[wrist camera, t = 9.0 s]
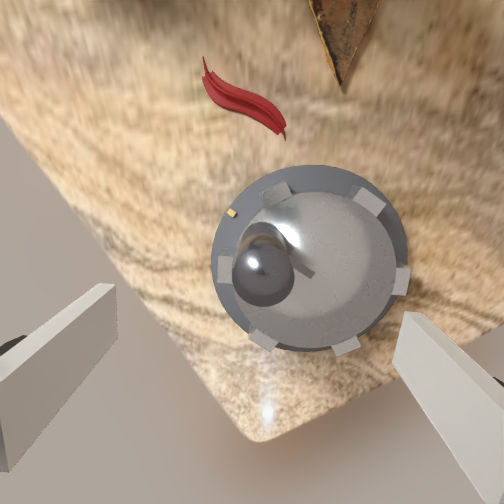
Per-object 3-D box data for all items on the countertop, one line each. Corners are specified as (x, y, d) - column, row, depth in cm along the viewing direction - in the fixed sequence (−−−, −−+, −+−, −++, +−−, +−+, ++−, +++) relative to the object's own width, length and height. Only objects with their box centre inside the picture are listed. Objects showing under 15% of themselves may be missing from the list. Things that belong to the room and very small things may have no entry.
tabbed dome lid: (193, 290, 34) (155, 361, 22) (292, 141, 30) (315, 121, 17) (321, 369, 36) (353, 474, 24) (430, 240, 32) (540, 286, 19)
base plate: (219, 156, 32) (216, 155, 30) (418, 174, 32) (429, 175, 30) (208, 334, 38) (205, 344, 36) (378, 349, 38) (386, 361, 36)
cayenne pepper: (186, 68, 31) (182, 62, 29) (221, 34, 30) (219, 25, 28) (262, 165, 33) (262, 164, 31) (296, 136, 32) (298, 134, 30)
